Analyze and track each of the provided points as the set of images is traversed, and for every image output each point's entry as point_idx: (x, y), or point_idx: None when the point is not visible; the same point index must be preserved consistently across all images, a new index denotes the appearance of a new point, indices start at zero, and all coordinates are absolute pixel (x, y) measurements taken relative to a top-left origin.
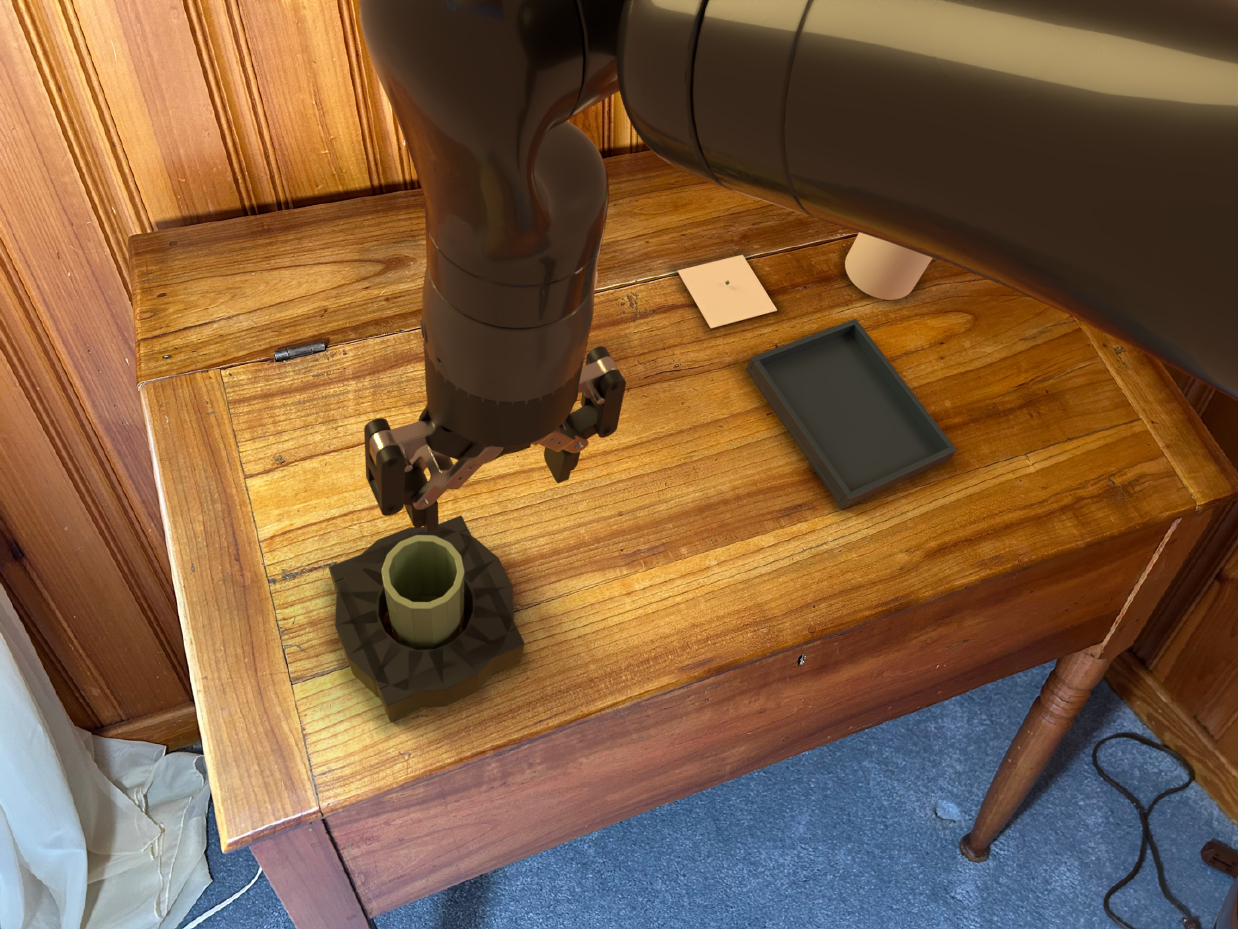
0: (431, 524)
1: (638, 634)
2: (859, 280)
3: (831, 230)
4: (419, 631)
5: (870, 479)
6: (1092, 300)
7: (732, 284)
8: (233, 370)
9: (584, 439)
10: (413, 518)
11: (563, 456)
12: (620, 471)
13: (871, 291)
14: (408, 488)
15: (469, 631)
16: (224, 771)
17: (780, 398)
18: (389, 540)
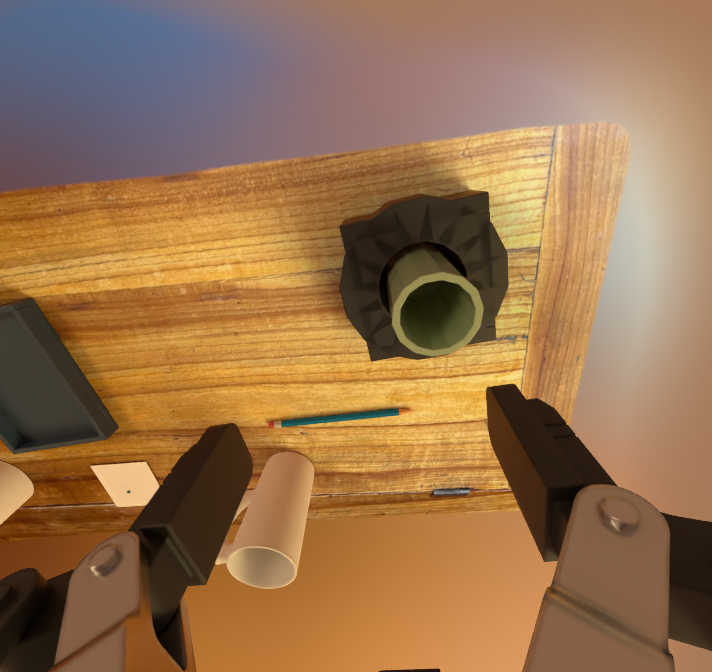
0: (518, 405)
1: (233, 221)
2: (17, 478)
3: (45, 512)
4: (441, 258)
5: (1, 319)
6: None
7: (126, 488)
8: (499, 487)
9: (67, 599)
10: (572, 433)
11: (172, 522)
12: (231, 368)
13: (8, 468)
14: (699, 602)
15: (389, 251)
16: (621, 180)
17: (80, 403)
18: None
